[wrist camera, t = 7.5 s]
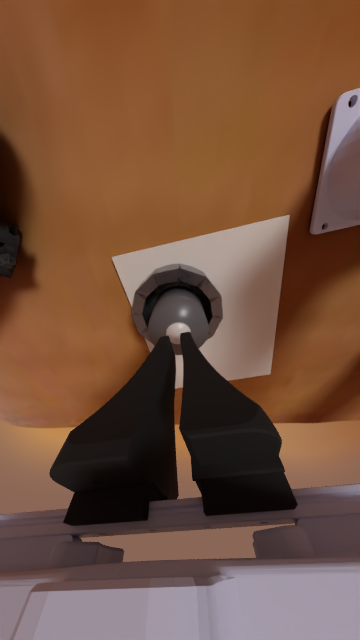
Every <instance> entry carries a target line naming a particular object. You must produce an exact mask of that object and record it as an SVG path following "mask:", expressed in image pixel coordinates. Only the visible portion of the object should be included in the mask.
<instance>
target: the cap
mask: <svg viewBox="0 0 360 640" xmlns="http://www.w3.org/2000/svg"><path fill="white" fill-rule="evenodd" d="M184 332H191V335H192V338H193V340H194V342H195V344H196V345H197V347H198V348H200V347H201V346H202V345H203V344H204V343H205V341H206V340H207V338H208V334H209V325H208V322H207V319H206V316H205V313H204V309H203V306H202V303H201V300H200V298H199V296H198V295H197V293H196V292H195V291H193V290H192V289H190V288H188V287H186V286H181V285H176V286H170V287H168V288H166V289H164V290H163V291H162V292H161V293H160V294H159V295H158V297H157V298H156V301H155V304H154V308H153V311H152V314H151V318H150V321H149V324H148V335H149V338H150V340H151V342H152V343H153V345H154V346H155V345H156V343H157V341H158V340H159V338H160V337H163V336H168V335H169V338H170V341H171V344H172V347H173V351H174V354H175V355H182V350H181V343H180V333H184Z"/></svg>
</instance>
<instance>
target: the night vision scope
mask: <svg viewBox="0 0 360 640" xmlns="http://www.w3.org/2000/svg"><path fill="white" fill-rule="evenodd" d="M17 233H18V227H15V226H13V225H10V224H7V223H5V222H1V221H0V276H4V277H9V278H11V276H12V272H13V268H15V266H16V255H17V251H18V246H19V240H20V237H19V235H17Z"/></svg>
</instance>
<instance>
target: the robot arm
mask: <svg viewBox="0 0 360 640" xmlns="http://www.w3.org/2000/svg"><path fill="white" fill-rule="evenodd" d="M349 100H351V107H350V108H349V106H348V102H349ZM323 224H324V228H323V229H322V225H323ZM356 225H360V88H358V89H355V90H352V91H348V92H345V93H344V94H342V95H341V96H340V97H339V98H338V99H337V100H336V101H335V102H334V104H333V106H332V110H331V115H330V121H329V126H328V132H327V137H326V143H325V148H324V154H323V159H322V165H321V170H320V176H319V181H318V187H317V192H316V198H315V203H314V209H313V214H312V220H311V225H310V233H311V234H321V233H325V232H330V231H334V230H339V229H343V228H348V227H352V226H356ZM180 343H181V350H182V356H183V393H182V407H181V417H180V426H179V429H180V431H181V434H182V436H183V439H184V441H185V443H186V446H187V448H188V451H189V453H190V455H191V466H192V479H193V481H196V483H197V486H198V488H199V490H200V492H201V494H202V497H198V498H186V499H177V498H178V481H177V467H176V448H175V429H174V396H175V381H176V359H175V354H174V351H173V347H172V344H171V341H170V338H169V335H168V336H163V337H160V338H159V340H158V341H157V343H156V345H155V346H154V348H153V350H152V351H151V353H150V354H149V356H148V357H147V359H146V360H145V362H144V363H143V364H142V366H141V367H140V368H139V370H138V371H137V372H136V373H135V375H134V376H133V377H132V378H131V379H130V380H129V381H128V383H127V384H126V385H125V386H124V387H123V388H122V389H121V390H120V391H119V392H118V393H117V394H116V395H115V396H114V397H113V398H111V399H110V400H109V401H108V402H107V403H106V404H105V405H104V406H102V407H101V408H100V409H99V410H98V411H97V412H95V413H94V414H93V415H92V416H90V417H89V418H88V419H86V420H85V421H84V422H83V423H81V424H80V425H79V426H77V427H76V428H75V429H73V430H72V431H71V432H70V433H69V435H68V437H67V439H66V441H65V443H64V445H63V447H62V448H61V450H60V452H59V454H58V456H57V458H56V460H55V462H54V464H53V466H52V467H51V469H50V477H51V478H52V479H53V480H54V481H55V482H57V483H58V484H60V485H62V486H64V487H66V488H67V489H69V490H71V491H73V492H75V493H74V495H73V498H72V500H71V503H70V506H69V508H68V509H59V510H47V511H36V512H23V513H13V514H0V640H360V484H348V485H336V486H325V487H313V488H302V489H291V488H290V485H289V483H288V481H287V479H286V476H285V474H284V472H285V470H284V467H283V464H282V462H281V460H280V458H279V452H280V448H281V444H282V440H281V437H280V435H279V433H278V432H277V430H276V428H275V426H274V425H273V423H272V422H271V420H270V419H269V417H268V416H267V415H266V413H265V412H264V411H263V409H262V408H261V407H260V406H259V405H258V404H256V403H255V402H253V401H252V400H251V399H249V398H248V397H247V396H245V395H244V394H243V393H241V392H240V391H239V390H238V389H236V388H235V387H234V386H233V385H231V384H230V383H229V382H228V381H227V380H226V379H225V378H224V377H223V376H221V375H220V374H219V373H218V372H217V371H216V370H215V369H214V367H213V366H212V365H211V364H210V363H209V362H208V361H207V359H206V358H205V357H204V356H203V354H202V353H201V351H200V350H199V348H198V347H197V345H196V344H195V342H194V340H193V338H192V335H191V332H184V333H180ZM292 523H295V525H289V526H280V527H275V528H270V529H265V530H260V531H255V532H254V533H253V539H254V542H253V547H254V550H255V555H256V558H240V559H239V558H238V559H193V560H192V559H190V560H160V561H140V562H139V561H138V562H122V561H123V555H124V551H123V549H120V548H113V547H109V546H105V545H103V544H100V543H99V542H82V540H81V538H83V537H98V536H113V535H128V534H141V533H142V534H143V533H156V532H157V533H158V532H173V531H187V530H202V529H216V528H232V527H247V526H262V525H276V524H292Z"/></svg>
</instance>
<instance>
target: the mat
mask: <svg viewBox="0 0 360 640" xmlns="http://www.w3.org/2000/svg"><path fill="white" fill-rule="evenodd" d="M289 217H290V215H286V216H281V217H277V218H273V219H269V220H265V221H261V222H256V223H252V224H248V225H244V226H240V227H235V228H231V229H227V230H223V231H219V232H215V233H210V234H206V235H202V236H198V237H194V238H189V239H185V240H181V241H177V242H173V243H169V244H164V245H160V246H156V247H152V248H148V249H144V250H139V251H135V252H131V253H127V254H123V255H118V256H114V257H111V258H112V260H113V263H114V265H115V268H116V270H117V272H118V275H119V277H120V280H121V282H122V285H123V287H124V290H125V292H126V294H127V297H128V299H129V302H130V304H131V307H132V305H133V300H134V294H135V291H136V290H137V288H138V287H139V285H140V284H141V283H142V282H143V281H144V280H145V279H146V278H147V277H148V275H150V274H151V273H152V272H153V271H154V270H155V269H157V268H160V267H162V266H166V265H170V264H185V265H189V266H192V267H194V268H197V269H198V270H201V271H202V272H204V274H205V275H206V276H207V277H208V278H209V280H210V281H211V282H212V283H213V285H214V286H215V287H216V288H217V290H218V291H219V293H220V294H221V297H222V309H223V319H222V321H221V322H220V324H219V326H218V328H217V330H216V332H215V334H214V335H213V336H212V337H211V338H209V339H208V340H206V341H205V343H204V344H203V345H202V346H201V347H200V348H199V350H200V351H201V353H202V354H203V356H204V357H205V358H206V359H207V361H208V362H209V363H210V364H211V365H212V366H213V367H214V369H215V370H216V371H217V372H218V373H219V374H220V375H221V376H223V377H224V378H225V379H226V380H227V381H229V380H236V379H242V378H249V377H255V376H262V375H269V374H271V366H272V358H273V349H274V341H275V333H276V325H277V316H278V308H279V300H280V291H281V283H282V275H283V266H284V258H285V250H286V242H287V233H288V225H289ZM145 341H146V343H147V346H148V348H149V351H150V353H151V351H152V350H153V348H154V345H153V344H152V343H151V342H150V341H148V340H147V339H146V338H145ZM175 359H176V381H175V389H176V388H183V356H182V355H175Z"/></svg>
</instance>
